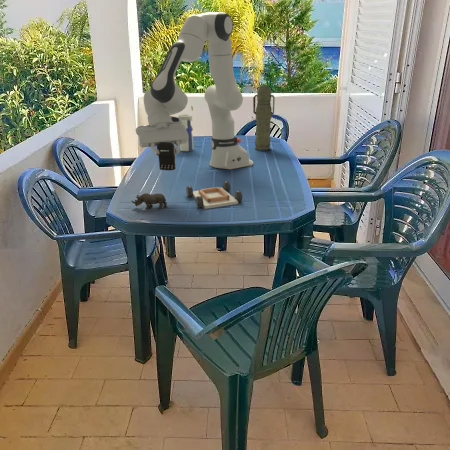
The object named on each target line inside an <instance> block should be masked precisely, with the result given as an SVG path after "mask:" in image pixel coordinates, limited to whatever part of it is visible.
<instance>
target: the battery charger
mask: <svg viewBox="0 0 450 450" xmlns="http://www.w3.org/2000/svg"><path fill="white" fill-rule="evenodd" d="M175 148H176V144H174V143H173V142H167V141H165V142H159V143H158V145H157V146H156V149H158V150H159V155H157V156H158V164H159V165H158V167H159V170H160V171H175V170H176V169H177V164H176V163H177V162H176V153H175Z"/></svg>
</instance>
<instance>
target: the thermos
mask: <svg viewBox="0 0 450 450" xmlns="http://www.w3.org/2000/svg"><path fill="white" fill-rule="evenodd" d="M272 98H273V100H272ZM252 99H253V100H252V102H253V103H252V104H253V108H252V109H253V114H255V119H256V120H255V121H256V128H255V130H256V131H255V135H256V136H255V139H254V146H255V147H254V148H255V150H256V149H258V150H257V151H260V150H266V151H269V150H268V149H270V150H271V143H272V142H271V119H272V115H274V114H275V101H276V100H275V99H276V98H275V95H274V94H272V89H271V87H270V86H269V85H260V86H258V89H257V94H255V95H254V96H253V98H252ZM256 101H257V102H256ZM271 101H273V102H272V103H271Z"/></svg>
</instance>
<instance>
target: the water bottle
mask: <svg viewBox="0 0 450 450" xmlns="http://www.w3.org/2000/svg"><path fill="white" fill-rule="evenodd" d="M190 108H191V111H194V107H193V106H190ZM178 118H181V120H182V124H183V125H184V126H185V128H186V130H187V133H188V136H189V139H188V141H187V143H184V144H180V145H179V148H180V149H179V151H182V152H192V151H194V139H193V138H194V137H193V129H194V128H193V125H192V121H193V115H189V114H179V115H178Z"/></svg>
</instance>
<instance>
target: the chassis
mask: <svg viewBox="0 0 450 450" xmlns="http://www.w3.org/2000/svg"><path fill="white" fill-rule="evenodd" d="M230 184H231V183H230V182H229V181H228V180H225V181H223V182H222V186H221V187H220V186H216V187H208V188H201V189H198V190H194V189H193V186H192V185H188V186H186V189H185V193H186V196H187V198H190V197H192V198H194V199H195V204H196V207H197V208H203V209H205V210H206V209H212V208H214V209H215V208H220V207H226V206H232V205H238V204H239V203H240V202H243V194H242V193H243V192H242V191H241V190H235V191H234V195H231V194H230V193H229V192H230V190H231V185H230Z"/></svg>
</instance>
